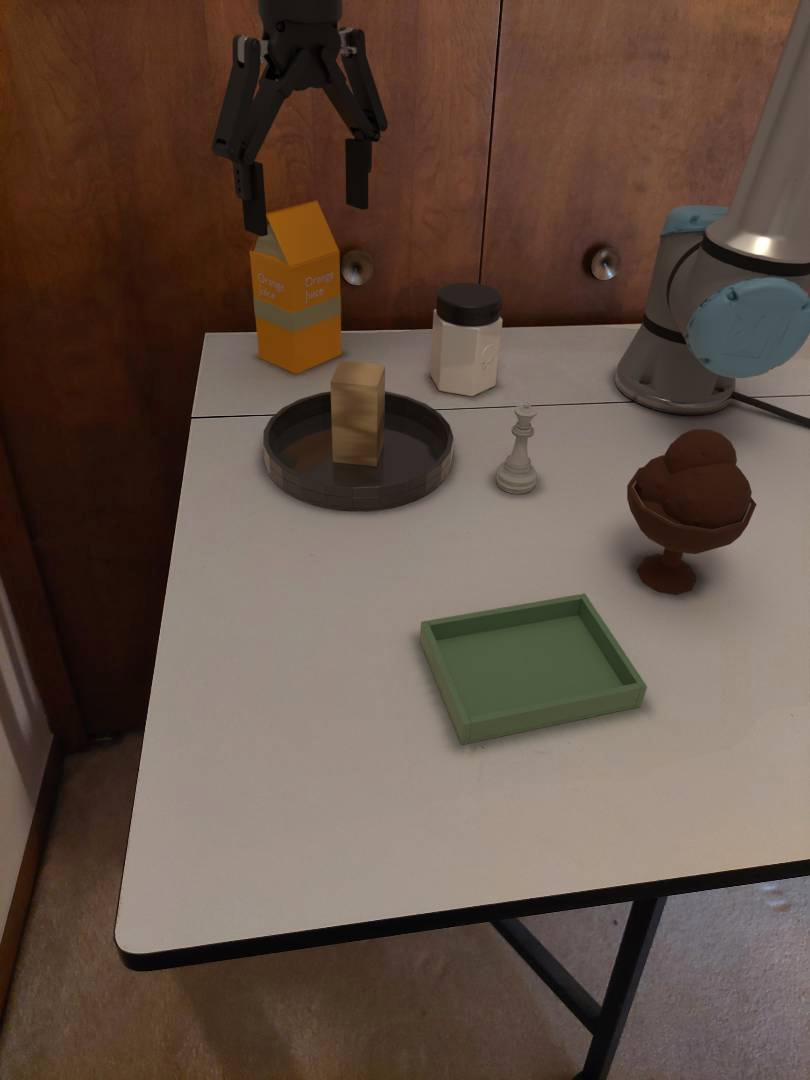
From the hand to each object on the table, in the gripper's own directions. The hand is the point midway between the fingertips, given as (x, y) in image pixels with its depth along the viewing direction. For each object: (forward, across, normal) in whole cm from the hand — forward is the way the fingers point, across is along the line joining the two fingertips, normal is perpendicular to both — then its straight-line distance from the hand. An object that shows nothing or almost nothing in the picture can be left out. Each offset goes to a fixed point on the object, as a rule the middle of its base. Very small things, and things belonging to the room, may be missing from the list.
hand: (309, 219), depth 83 cm
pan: (+24, +2, +9) cm, 26 cm away
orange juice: (+24, -10, -15) cm, 30 cm away
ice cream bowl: (+24, -5, +45) cm, 51 cm away
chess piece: (+24, -7, +25) cm, 35 cm away
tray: (+24, +14, +43) cm, 51 cm away
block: (+23, +2, +9) cm, 25 cm away
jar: (+24, -21, +5) cm, 32 cm away
